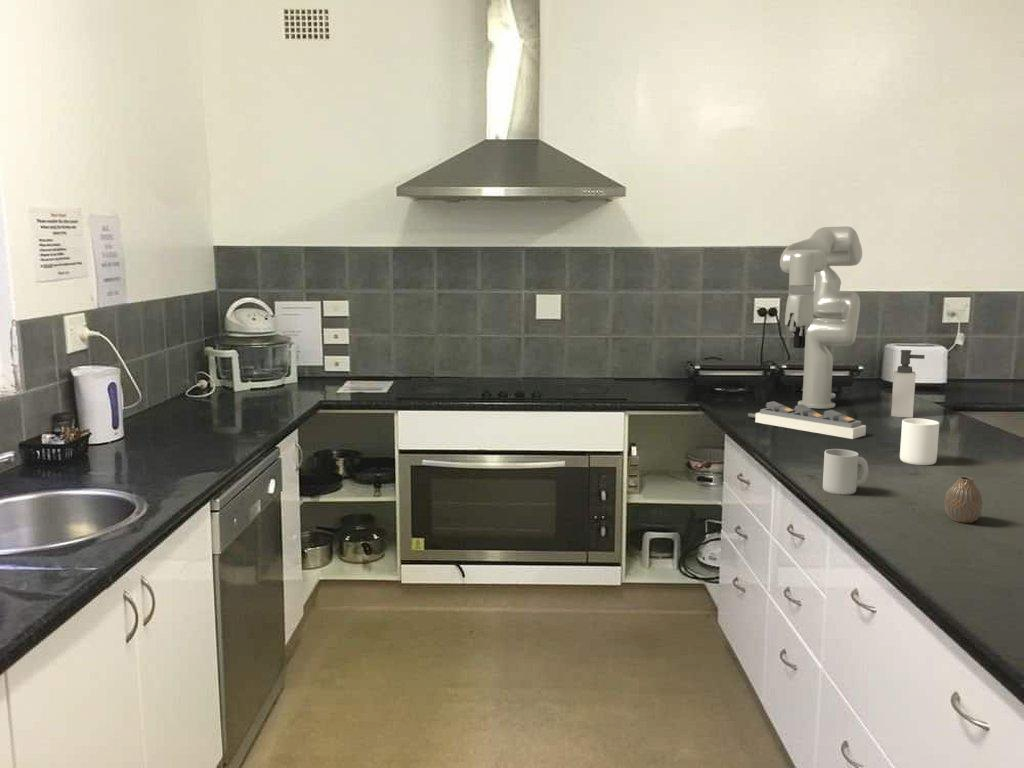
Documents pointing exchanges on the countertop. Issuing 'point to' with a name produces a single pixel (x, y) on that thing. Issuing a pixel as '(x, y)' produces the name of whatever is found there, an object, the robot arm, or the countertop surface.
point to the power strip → (810, 423)
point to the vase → (964, 501)
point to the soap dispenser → (904, 387)
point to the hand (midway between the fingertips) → (799, 347)
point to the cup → (843, 471)
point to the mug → (919, 441)
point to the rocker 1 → (779, 407)
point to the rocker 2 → (807, 411)
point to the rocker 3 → (838, 416)
